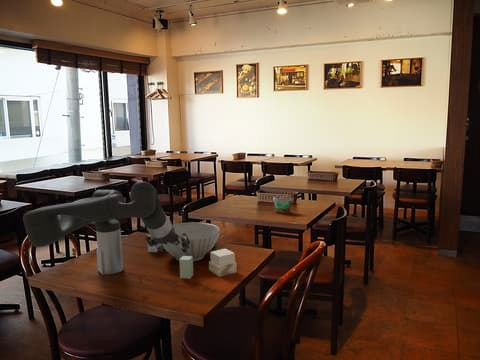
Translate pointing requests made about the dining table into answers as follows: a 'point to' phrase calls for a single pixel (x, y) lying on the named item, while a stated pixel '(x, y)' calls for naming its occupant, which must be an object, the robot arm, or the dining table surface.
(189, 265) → the pale green block
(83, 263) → the dining table surface
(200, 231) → the decorative bowl
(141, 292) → the dining table surface
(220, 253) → the white block
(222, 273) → the bottom block
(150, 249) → the medicine box
